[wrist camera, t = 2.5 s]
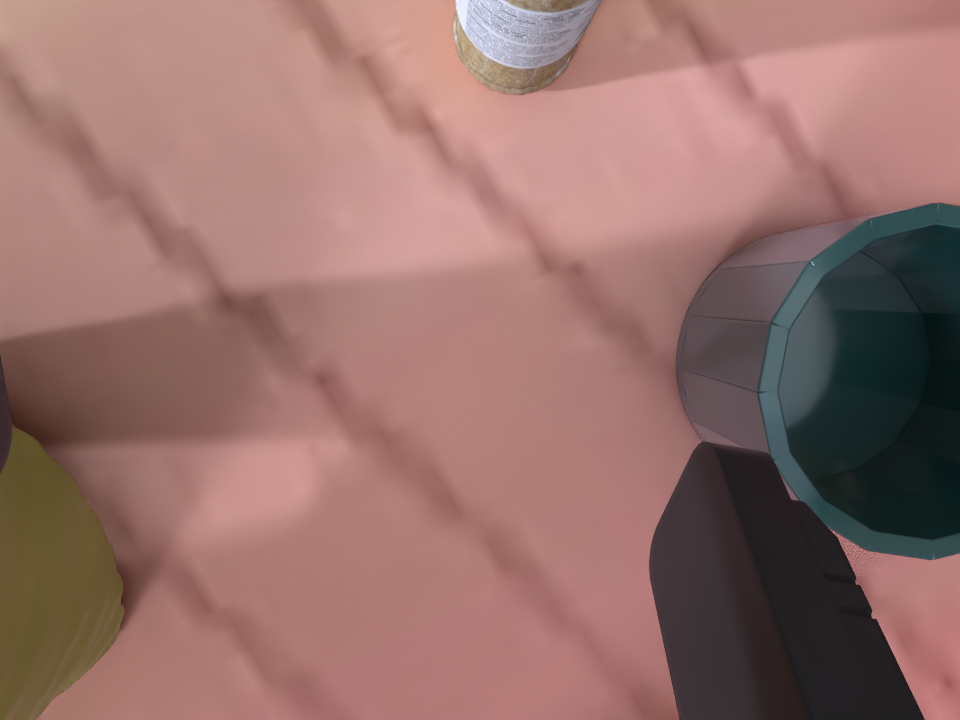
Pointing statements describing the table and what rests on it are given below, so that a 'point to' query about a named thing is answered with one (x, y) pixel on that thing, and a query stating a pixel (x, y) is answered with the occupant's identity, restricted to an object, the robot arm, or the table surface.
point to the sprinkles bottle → (519, 40)
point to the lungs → (50, 582)
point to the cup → (841, 371)
